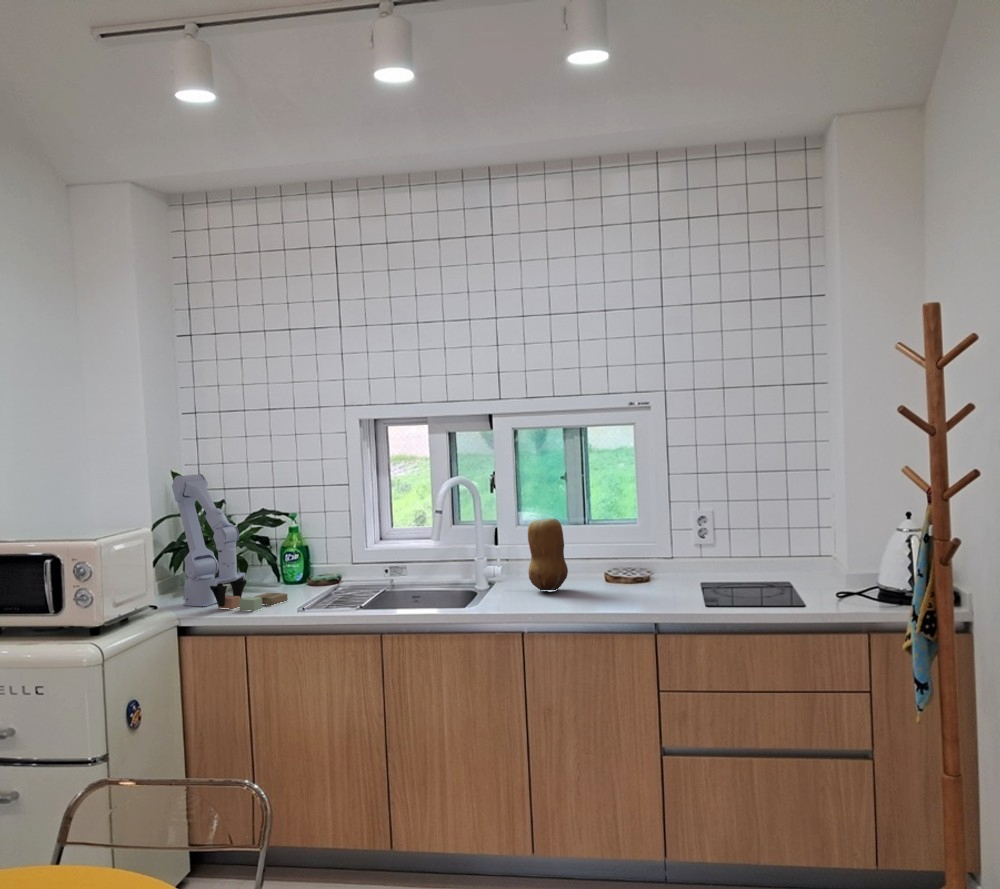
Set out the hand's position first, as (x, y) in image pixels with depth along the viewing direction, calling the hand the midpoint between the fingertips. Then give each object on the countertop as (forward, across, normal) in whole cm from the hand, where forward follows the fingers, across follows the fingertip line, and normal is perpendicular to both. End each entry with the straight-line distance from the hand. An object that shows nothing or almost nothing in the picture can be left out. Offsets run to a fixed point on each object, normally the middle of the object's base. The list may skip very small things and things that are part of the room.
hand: (229, 604), depth 314 cm
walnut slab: (+2, +12, -8) cm, 14 cm away
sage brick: (+2, 0, -9) cm, 9 cm away
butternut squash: (+2, +54, -91) cm, 106 cm away
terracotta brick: (+2, 0, 0) cm, 2 cm away
